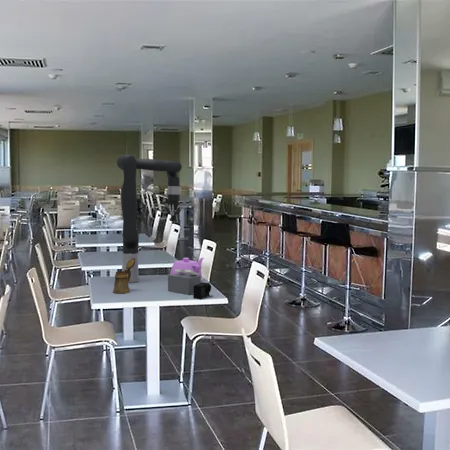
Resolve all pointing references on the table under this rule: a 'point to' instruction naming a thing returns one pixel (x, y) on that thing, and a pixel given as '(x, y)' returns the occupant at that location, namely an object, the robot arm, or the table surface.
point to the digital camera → (201, 290)
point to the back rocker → (180, 271)
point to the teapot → (187, 266)
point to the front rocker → (191, 272)
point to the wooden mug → (123, 279)
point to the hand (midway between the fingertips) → (173, 221)
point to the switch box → (182, 283)
